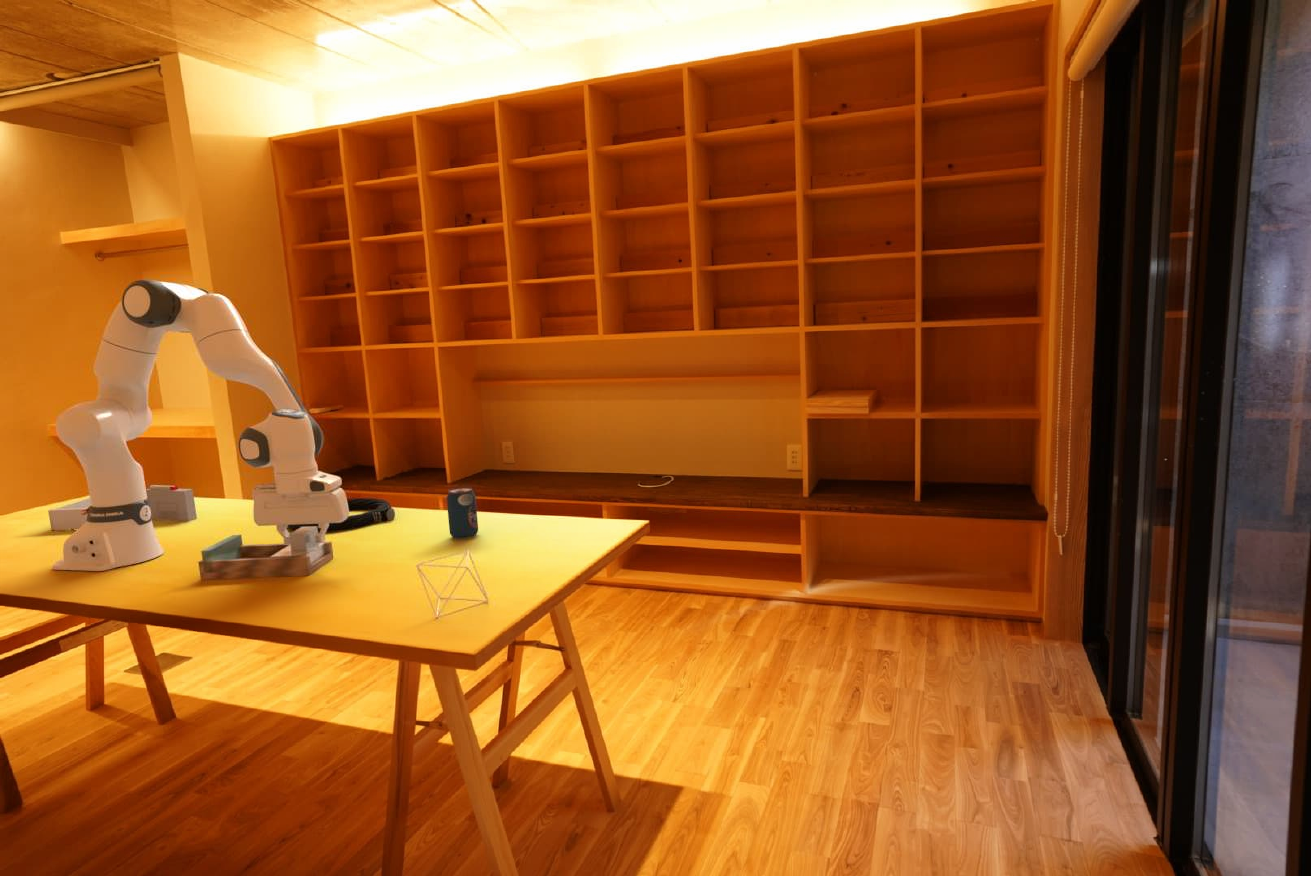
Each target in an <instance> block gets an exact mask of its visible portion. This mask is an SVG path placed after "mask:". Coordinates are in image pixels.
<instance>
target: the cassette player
mask: <svg viewBox="0 0 1311 876" xmlns="http://www.w3.org/2000/svg"><path fill="white" fill-rule="evenodd" d="M146 493H147V497H148V498H149V499H150V504H151V510H152V520H154V521H155V520H157V521H175V522H177V521H178V522H191V521H194V520H197V519H198V516H197V512H196V511H197V510H196V509H197V508H196V503H195V496H194V489H193V488H179V487H178V485H159V484H158V485H157V484H155V485H154V484H151V485H149V488H147V489H146Z"/></svg>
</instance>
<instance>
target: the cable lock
mask: <svg viewBox="0 0 1311 876" xmlns="http://www.w3.org/2000/svg"><path fill="white" fill-rule="evenodd" d="M347 502H348V508H349V511H352V510H353V511H354V510H355V511H356V510H358V511H360V510H362V511H363V510H366V511H365V512H363V513H359V514H358V513H357V514H354V515H353V514H352V515H349V516H348V517H347V519H346V520H344V521H343V522H341V523H329V527H328V529H327V531H326V533H327V532H338V531H339V532H340V531H345V530H350V529H356V528H361V527H366V526H368V525H371V524H374V525H375V524H378V523H381V522H383V523H384V522H387V521H389V522H392V521H394V520H395V517H396V511H395V509H394V508H393V507H392V505H391V504H390V503H389V502H388V501H386V500H385V499H379V498H374V497H373V498H372V497H363V498H362V497H359V498H358V497H351V498H347ZM367 510H369V511H367ZM309 526H317V528H318V533H320V530H321V528H319V526H318V524H296V525H288V527H287V528H288V529H291V530H292V531H293V532H294V531H296V530H297V529H299V528H301V527H309Z"/></svg>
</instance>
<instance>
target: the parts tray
mask: <svg viewBox="0 0 1311 876" xmlns="http://www.w3.org/2000/svg"><path fill="white" fill-rule="evenodd" d="M90 506H91V499H90V497H88V498H84V499H81V500H78V501H74V502H71V503H67V504H65V505H61V506H59V507H54V508H52V509H49V510H47V512H48V517H49V524H50V527H51V528H50V529H51V531H52V530H65V531H70V530H69V529H79V528H80V527H81V526H82V525H83V524H85V523H86V522H87V521H86V519H87V515H88V514H85V515H81V514H82V513H84V512H85V511H82V510H85V509H88V507H90ZM81 511H82V512H81Z"/></svg>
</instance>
